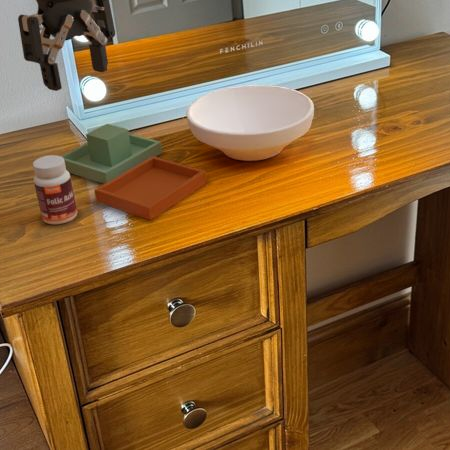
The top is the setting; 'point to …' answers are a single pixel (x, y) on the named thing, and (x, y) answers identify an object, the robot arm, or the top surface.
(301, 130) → the bowl
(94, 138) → the sage block
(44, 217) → the pill bottle
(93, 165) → the sage tray
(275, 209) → the top surface
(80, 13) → the robot arm
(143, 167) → the reddish-brown tray
